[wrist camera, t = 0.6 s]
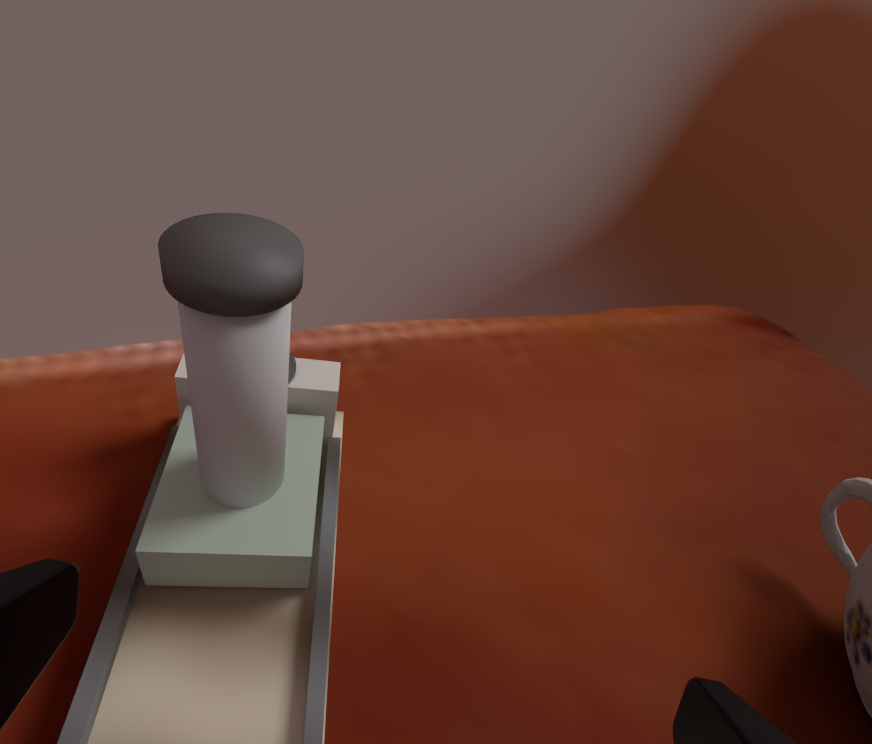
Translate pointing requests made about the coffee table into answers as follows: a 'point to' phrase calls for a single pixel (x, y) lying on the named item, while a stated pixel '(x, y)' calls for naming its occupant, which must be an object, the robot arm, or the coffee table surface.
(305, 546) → the carriage
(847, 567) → the teacup
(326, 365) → the end blocks
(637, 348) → the coffee table surface
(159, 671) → the rail track
